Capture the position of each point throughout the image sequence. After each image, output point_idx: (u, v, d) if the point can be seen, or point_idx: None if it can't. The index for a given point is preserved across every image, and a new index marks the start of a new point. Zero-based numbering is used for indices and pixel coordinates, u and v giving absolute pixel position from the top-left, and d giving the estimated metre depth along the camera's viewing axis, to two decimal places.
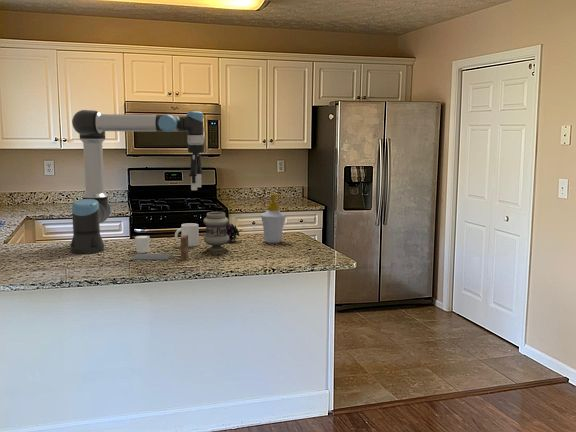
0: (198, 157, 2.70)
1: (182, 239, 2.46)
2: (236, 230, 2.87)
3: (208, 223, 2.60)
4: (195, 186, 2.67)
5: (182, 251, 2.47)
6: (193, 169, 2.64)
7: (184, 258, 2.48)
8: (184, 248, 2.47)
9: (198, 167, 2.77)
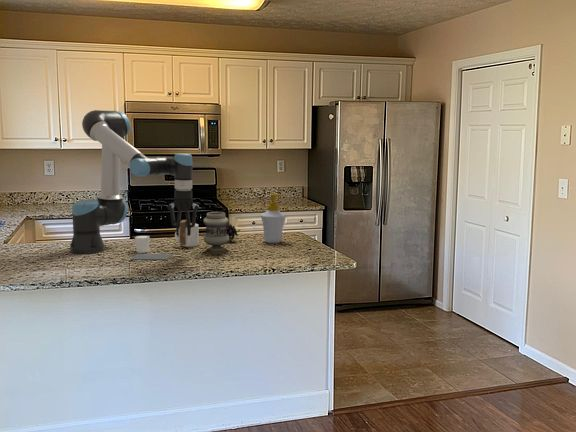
0: None
1: (181, 224, 2.45)
2: None
3: (208, 223, 2.60)
4: None
5: (181, 236, 2.46)
6: None
7: (183, 243, 2.47)
8: (183, 233, 2.46)
9: None
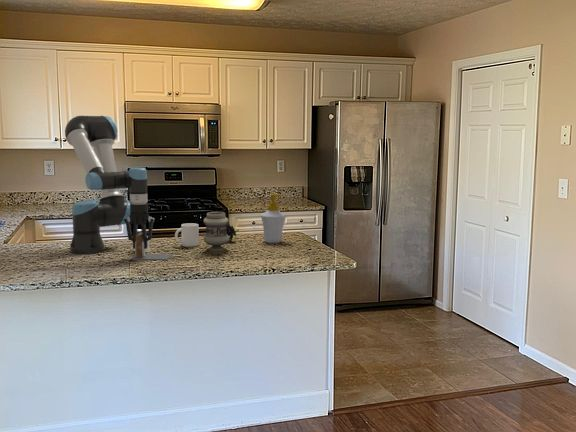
0: (134, 218, 2.48)
1: (137, 237, 2.48)
2: (233, 230, 2.87)
3: (208, 223, 2.60)
4: None
5: (137, 249, 2.49)
6: None
7: (139, 256, 2.49)
8: (139, 246, 2.49)
9: None
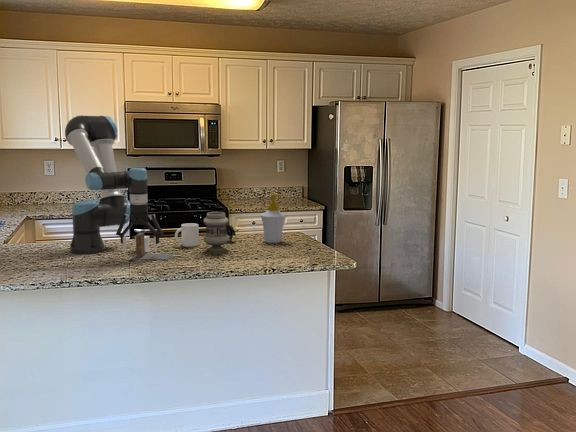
0: (134, 217, 2.48)
1: (137, 237, 2.48)
2: (232, 230, 2.87)
3: (208, 223, 2.60)
4: None
5: (137, 249, 2.49)
6: None
7: (139, 256, 2.49)
8: (139, 246, 2.49)
9: None
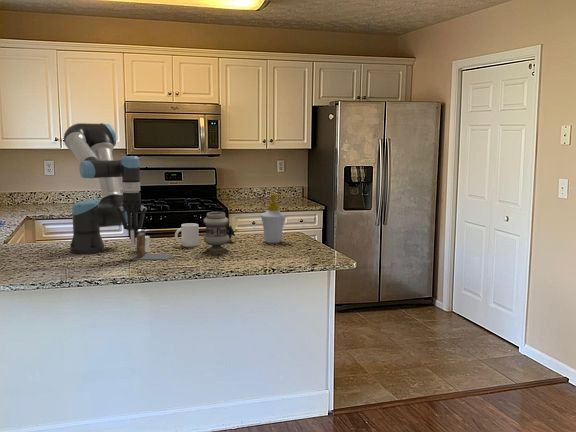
0: (126, 207, 2.47)
1: (138, 237, 2.48)
2: None
3: (208, 223, 2.60)
4: None
5: (138, 249, 2.49)
6: None
7: (139, 256, 2.49)
8: (140, 246, 2.49)
9: None
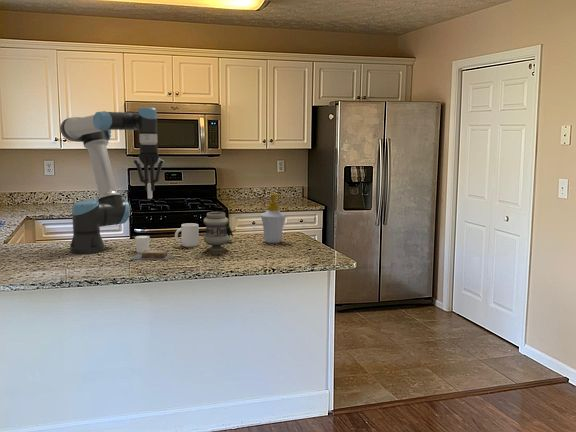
0: (143, 159, 2.45)
1: (162, 254, 2.49)
2: (229, 230, 2.87)
3: (208, 223, 2.60)
4: None
5: (150, 254, 2.49)
6: None
7: (143, 256, 2.49)
8: (153, 256, 2.49)
9: None
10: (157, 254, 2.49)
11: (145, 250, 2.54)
